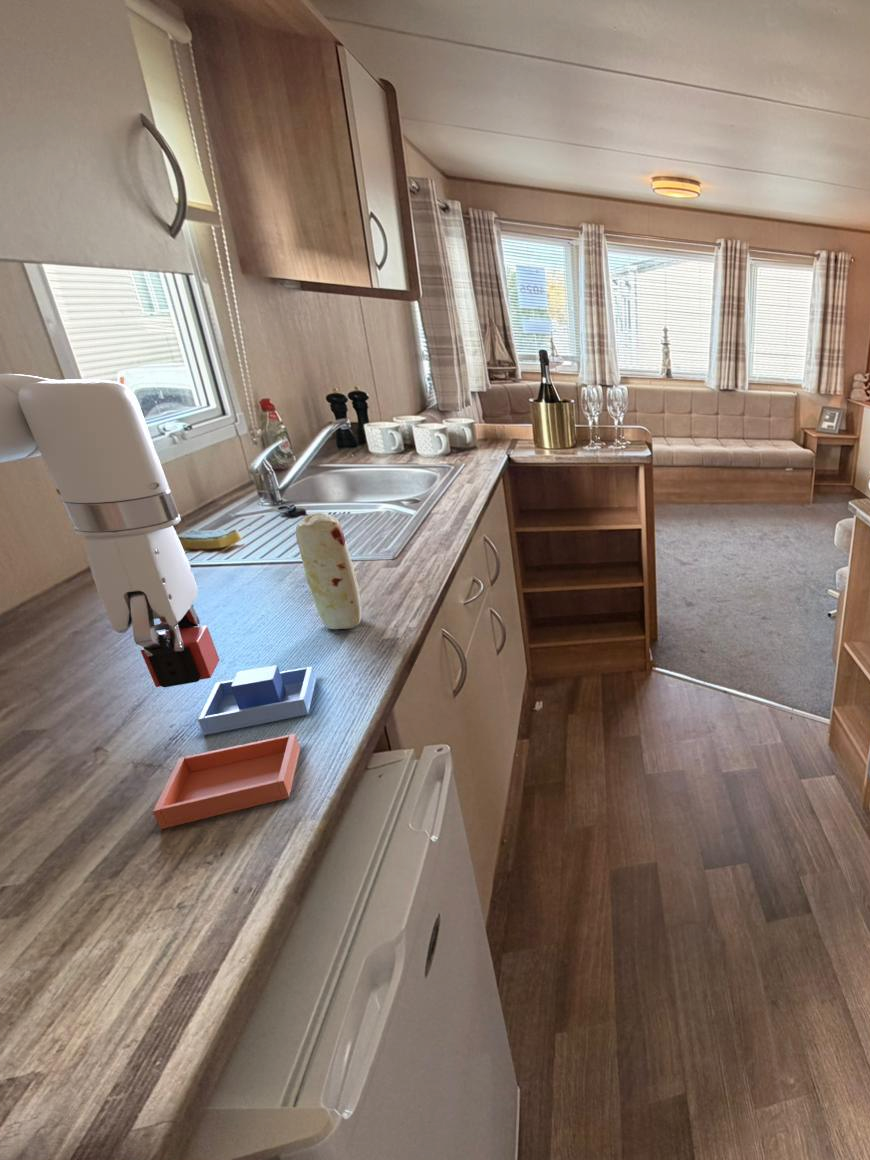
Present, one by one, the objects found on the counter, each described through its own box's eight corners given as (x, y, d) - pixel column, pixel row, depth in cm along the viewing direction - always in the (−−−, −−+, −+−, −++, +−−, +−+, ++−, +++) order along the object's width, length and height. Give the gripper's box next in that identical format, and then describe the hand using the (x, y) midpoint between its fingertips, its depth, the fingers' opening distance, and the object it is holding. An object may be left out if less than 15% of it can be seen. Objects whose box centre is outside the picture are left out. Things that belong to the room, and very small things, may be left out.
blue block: (240, 714, 87) (230, 686, 86) (247, 698, 91) (237, 671, 89) (281, 706, 89) (272, 679, 88) (286, 691, 93) (277, 664, 91)
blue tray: (203, 735, 84) (197, 719, 83) (221, 697, 92) (215, 682, 91) (308, 714, 89) (303, 699, 88) (316, 680, 97) (311, 666, 96)
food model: (376, 625, 114) (349, 518, 106) (332, 637, 109) (301, 526, 101) (355, 609, 120) (329, 506, 112) (313, 620, 115) (283, 513, 107)
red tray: (160, 829, 69) (152, 811, 68) (185, 774, 77) (178, 757, 76) (289, 797, 74) (283, 780, 73) (300, 749, 82) (295, 733, 81)
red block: (155, 687, 67) (139, 650, 66) (167, 668, 71) (153, 632, 69) (210, 678, 70) (197, 641, 68) (220, 660, 73) (207, 624, 71)
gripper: (103, 495, 68) (165, 646, 75) (31, 542, 54) (114, 720, 62) (196, 489, 71) (245, 634, 79) (149, 532, 58) (214, 701, 65)
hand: (187, 670), depth 70 cm, fingers closed on red block, 4 cm apart
